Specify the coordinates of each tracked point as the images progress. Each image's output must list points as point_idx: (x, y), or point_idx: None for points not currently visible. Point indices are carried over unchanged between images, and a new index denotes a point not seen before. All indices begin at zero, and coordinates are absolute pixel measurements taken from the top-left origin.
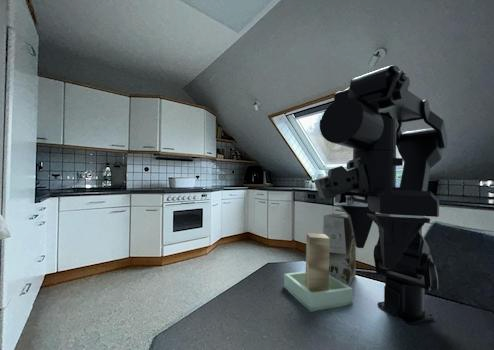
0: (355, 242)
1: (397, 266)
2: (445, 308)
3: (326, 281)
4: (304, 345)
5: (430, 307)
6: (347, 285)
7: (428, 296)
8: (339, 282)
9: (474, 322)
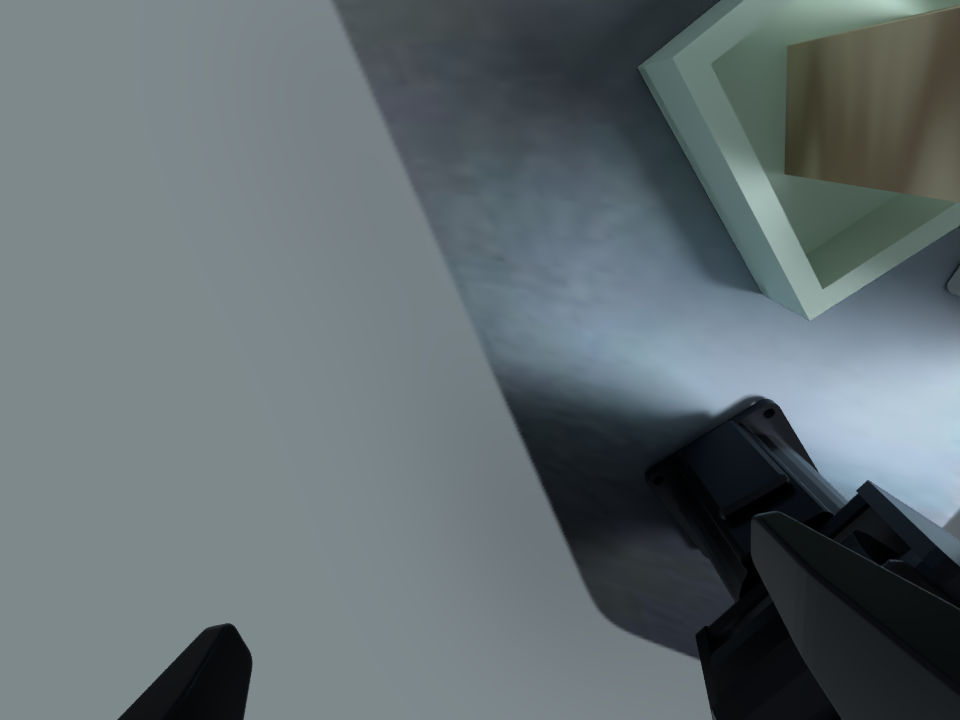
0: (800, 535)
1: (777, 623)
2: None
3: (849, 168)
4: (353, 50)
5: None
6: (955, 291)
7: None
8: (887, 252)
9: None
